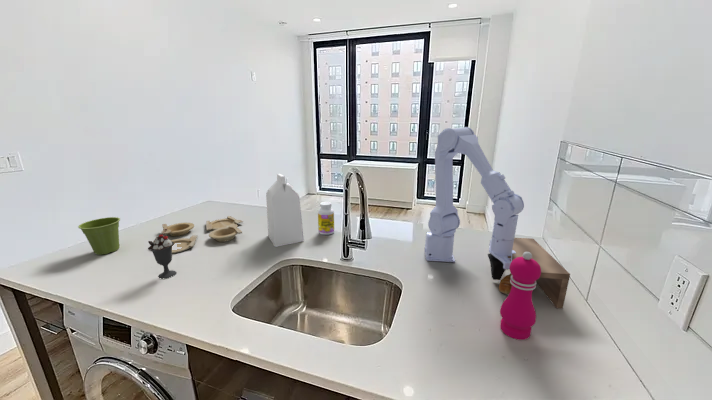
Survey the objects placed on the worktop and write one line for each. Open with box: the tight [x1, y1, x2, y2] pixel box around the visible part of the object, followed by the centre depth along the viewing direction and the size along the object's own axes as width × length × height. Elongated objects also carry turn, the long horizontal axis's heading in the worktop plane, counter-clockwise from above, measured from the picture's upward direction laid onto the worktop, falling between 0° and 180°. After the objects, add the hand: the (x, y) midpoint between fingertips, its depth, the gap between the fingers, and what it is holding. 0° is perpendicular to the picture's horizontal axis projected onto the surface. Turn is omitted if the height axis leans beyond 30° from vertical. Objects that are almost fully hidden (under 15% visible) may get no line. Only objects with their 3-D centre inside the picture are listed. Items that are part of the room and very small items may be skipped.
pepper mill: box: [499, 252, 541, 341], centre depth 68 cm, size 7×7×20 cm
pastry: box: [498, 272, 512, 296], centre depth 87 cm, size 9×7×4 cm
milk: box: [265, 173, 305, 247], centre depth 119 cm, size 12×12×26 cm
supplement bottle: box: [317, 201, 335, 236], centre depth 127 cm, size 7×7×13 cm
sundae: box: [147, 229, 177, 280], centre depth 94 cm, size 7×7×15 cm
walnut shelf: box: [508, 237, 571, 310], centre depth 88 cm, size 12×22×10 cm, turn 172°
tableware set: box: [161, 215, 244, 255], centre depth 126 cm, size 35×29×4 cm
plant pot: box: [77, 216, 121, 256], centre depth 112 cm, size 12×12×11 cm
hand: (495, 278), depth 91 cm, fingers closed, pressing on walnut shelf
